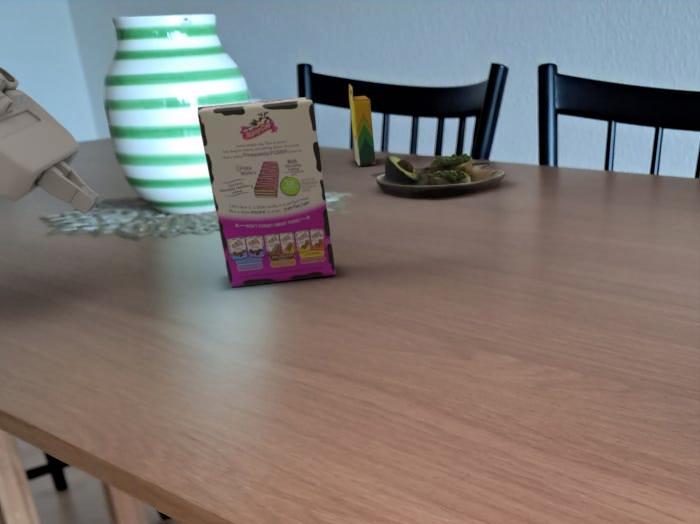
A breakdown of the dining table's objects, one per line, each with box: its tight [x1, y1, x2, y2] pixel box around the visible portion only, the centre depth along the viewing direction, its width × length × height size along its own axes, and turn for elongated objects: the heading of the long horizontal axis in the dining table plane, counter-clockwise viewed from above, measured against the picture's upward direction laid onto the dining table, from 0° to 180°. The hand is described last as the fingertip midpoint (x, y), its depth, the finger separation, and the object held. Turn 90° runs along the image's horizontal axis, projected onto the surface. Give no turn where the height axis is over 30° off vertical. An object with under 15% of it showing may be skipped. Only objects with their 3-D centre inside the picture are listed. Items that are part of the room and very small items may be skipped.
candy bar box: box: [197, 96, 336, 288], centre depth 102 cm, size 11×5×16 cm, turn 105°
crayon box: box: [348, 83, 376, 167], centre depth 167 cm, size 7×3×12 cm, turn 11°
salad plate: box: [369, 152, 506, 200], centre depth 147 cm, size 19×18×5 cm
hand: (93, 206), depth 101 cm, fingers closed
